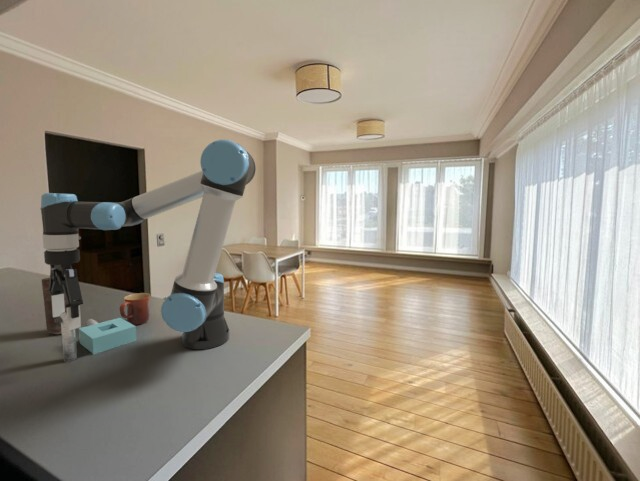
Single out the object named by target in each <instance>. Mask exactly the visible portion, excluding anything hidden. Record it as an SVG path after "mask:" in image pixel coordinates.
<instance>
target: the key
mask: <svg viewBox="0 0 640 481" xmlns="http://www.w3.org/2000/svg"><path fill="white" fill-rule="evenodd" d="M54 322H55V323H60V322H61V330H62V334H61V339H62V340H61V341H62V342H61V343H62V354H63V361H64V362H65V363H69V362H73V361H75V360H77V359H78V349H77V336H76V335H77V334H76V329H72V330H68V323H67V312H63V313H61V314H60V317H59V318H56V319H55V320H54Z"/></svg>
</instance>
